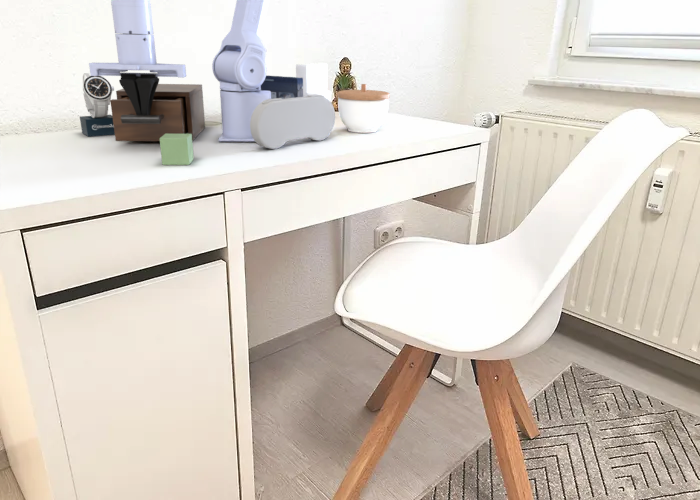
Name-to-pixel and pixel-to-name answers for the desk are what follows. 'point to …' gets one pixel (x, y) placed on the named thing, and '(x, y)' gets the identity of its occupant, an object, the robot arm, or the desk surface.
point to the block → (176, 149)
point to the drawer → (149, 119)
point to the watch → (97, 106)
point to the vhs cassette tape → (283, 86)
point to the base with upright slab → (313, 79)
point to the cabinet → (193, 103)
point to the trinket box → (363, 109)
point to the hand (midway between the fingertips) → (144, 122)
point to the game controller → (292, 120)
